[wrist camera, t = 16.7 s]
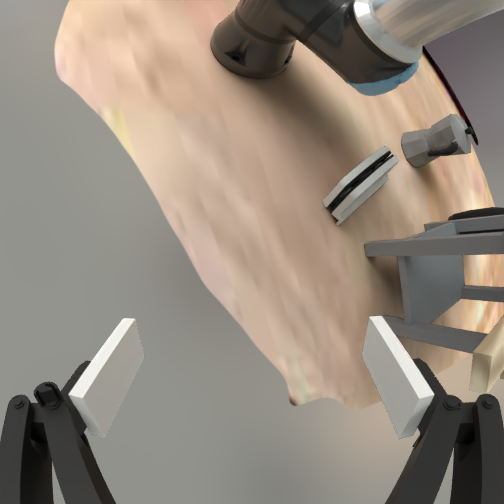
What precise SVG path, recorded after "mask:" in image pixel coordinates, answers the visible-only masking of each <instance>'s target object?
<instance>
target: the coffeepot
mask: <svg viewBox="0 0 504 504" xmlns="http://www.w3.org/2000/svg"><path fill="white" fill-rule="evenodd" d="M469 134H473V130H472V128H471V127H469V128H467V125H466V124H465V121H464V120H461V119H460V117H459V116H458V115H457V114H450V115H449V116H447V117H445V118H444V119H442V120H440V121H439V122H437V123H436V124H434V125H432V126H431V128H429V129H424V130H418V131H413V132H407V133H403V136H402V140H401V145H402V149H403V152H404V155H405V157H406V159H407V160H408V161H409V163H410V164H411V165H413V166H414V167H415V168H416V167H420V166H423V165H425V164H427V163H429V162H431V161H433V160H435V159H436V158H438V157H440V156H449V155H459V154H467V153H471V140H470V137H469Z"/></svg>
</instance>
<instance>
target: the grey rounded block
mask: <svg viewBox="0 0 504 504" xmlns="http://www.w3.org/2000/svg"><path fill="white" fill-rule="evenodd" d="M390 154H391V152H390V149H389V148H387V147H386V146H384V147H382V148H381V149H379V150H378V151H376V152H375V153H373V154H372V155H371V156H369V157H368V158H367V159H365V160H364V161H363V162H362V163H360V164H359V165H358V166H357V167H356V168H354V169H353V170H352V171H351V172H350V173H348V174H347V175H346V176H345V177H344V178H343V179H342V180H341V181H340V182H339V183H338V184H337V185H336V186H335V188H334V189H333V190H332V191H331V192H330V193H329V195H328V196H327V197H326V198H325V199H324V201H323V204H324V206H325V207H329V208H330V207H331V206H332V205H334V204H335V203H337V204H336V205H335V206H334V208H333V209H332V210H331V211H332V213H331V214H332V215H333V216H334V217H335V218H337V219H338V220H339V221H338V222H337V223H336V224H337V226H338V225H339V224H340V223H341V222H343V221H344V220H345V219H346V218H347V217H348V216H349V215H350V214H351V213H353V212H354V211H355V210H356V209H357V208H358V207H359V206H360V205H362V204H363V203H364V202H365V201H366V200H367V199H368V198H369V197H370V196H371V195H373V194H374V193H375V192H376V191H377V190H378V189H379V188H380V187H381V186H382V185H383V184H385V183H386V182H387V181H388V176H387V173H388V172H389V171H390V170H391V169H392V168H393V167H394V166H395V165H396V163H397V162H398V161H399V160H398V158H397V157H396V155H395V156H394V155H391V156H390V157H388V156H389V155H390ZM387 157H388V158H387ZM386 158H387V159H386ZM385 159H386V160H385ZM356 181H359V182H358V183H357V184H356V185H355V186H354V187H353V188H352V189H351V188H350V187H351V185H353V184H354V183H355V182H356Z"/></svg>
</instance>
